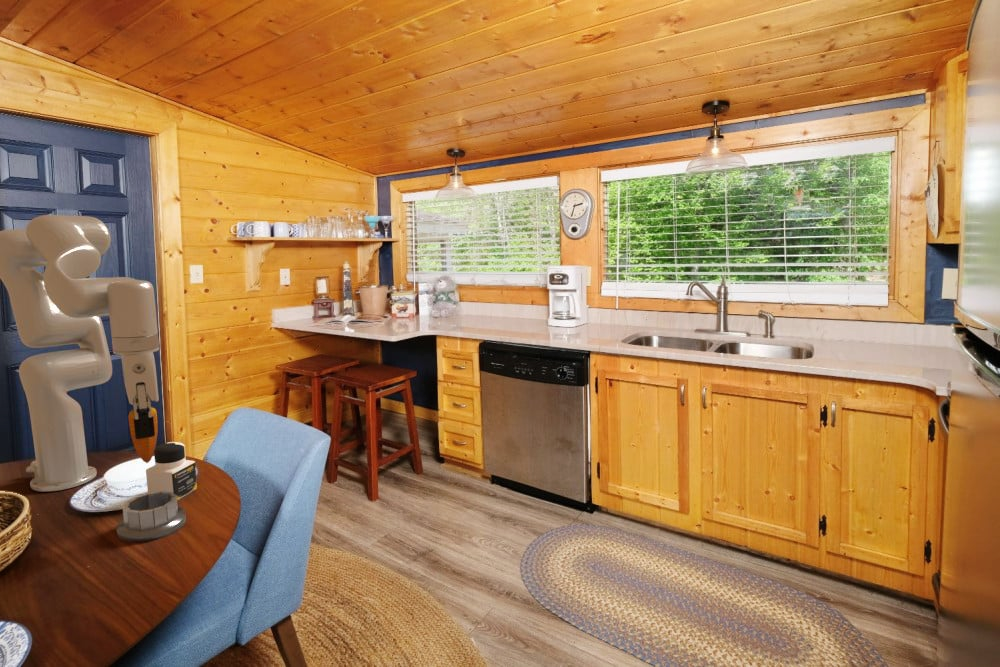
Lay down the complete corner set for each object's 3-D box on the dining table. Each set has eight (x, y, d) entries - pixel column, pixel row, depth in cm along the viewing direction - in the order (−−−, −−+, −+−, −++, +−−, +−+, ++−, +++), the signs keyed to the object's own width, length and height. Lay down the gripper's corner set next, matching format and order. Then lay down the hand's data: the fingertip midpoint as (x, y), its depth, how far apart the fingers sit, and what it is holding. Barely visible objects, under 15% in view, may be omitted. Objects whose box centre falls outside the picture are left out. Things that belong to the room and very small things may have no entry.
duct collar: (102, 539, 108) (99, 513, 107) (147, 510, 119) (145, 486, 119) (158, 544, 106) (155, 518, 105) (198, 514, 118) (196, 490, 117)
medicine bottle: (174, 502, 123) (170, 452, 121) (147, 499, 125) (143, 449, 123) (197, 488, 130) (194, 440, 128) (172, 485, 131) (167, 438, 129)
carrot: (140, 458, 113) (133, 387, 110) (166, 457, 113) (160, 387, 111) (127, 468, 108) (119, 394, 105) (154, 467, 108) (147, 394, 106)
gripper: (162, 349, 102) (170, 442, 105) (155, 335, 115) (163, 418, 118) (112, 353, 97) (122, 450, 100) (112, 339, 111) (121, 425, 114)
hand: (144, 432), depth 109 cm, fingers closed on carrot, 4 cm apart
